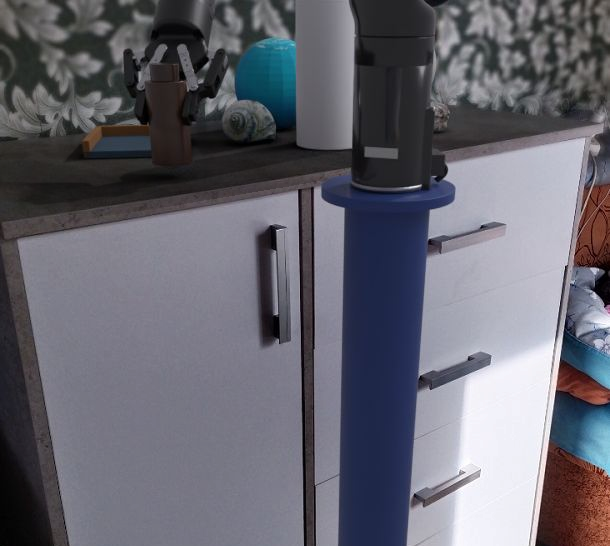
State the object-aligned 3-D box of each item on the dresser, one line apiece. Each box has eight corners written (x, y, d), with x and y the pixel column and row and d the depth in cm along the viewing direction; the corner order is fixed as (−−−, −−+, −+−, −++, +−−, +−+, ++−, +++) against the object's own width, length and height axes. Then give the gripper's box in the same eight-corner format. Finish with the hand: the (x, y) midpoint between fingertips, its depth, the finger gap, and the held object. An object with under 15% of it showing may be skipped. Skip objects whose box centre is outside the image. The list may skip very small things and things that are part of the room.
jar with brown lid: (193, 157, 102) (185, 61, 97) (192, 165, 98) (184, 64, 92) (153, 159, 102) (144, 62, 97) (150, 166, 97) (140, 65, 92)
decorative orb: (232, 124, 143) (229, 36, 136) (312, 121, 145) (312, 35, 138) (240, 136, 129) (236, 40, 123) (327, 134, 132) (327, 39, 125)
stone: (362, 129, 133) (404, 139, 127) (367, 94, 131) (410, 103, 124) (413, 130, 142) (455, 139, 135) (419, 97, 139) (461, 105, 132)
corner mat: (189, 139, 127) (188, 123, 126) (186, 156, 114) (185, 138, 113) (97, 141, 126) (95, 125, 125) (84, 158, 112) (81, 140, 111)
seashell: (283, 148, 128) (228, 157, 120) (256, 125, 131) (200, 131, 123) (295, 113, 124) (238, 120, 116) (266, 90, 127) (209, 95, 119)
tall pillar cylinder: (376, 143, 123) (383, -33, 111) (330, 152, 116) (332, -35, 105) (328, 136, 129) (330, -31, 118) (282, 144, 123) (279, -33, 112)
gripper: (123, -8, 99) (98, 101, 93) (231, -10, 97) (212, 102, 91) (141, 35, 106) (120, 139, 100) (243, 35, 104) (226, 140, 98)
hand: (164, 121), depth 96 cm, fingers closed on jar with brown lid, 5 cm apart
